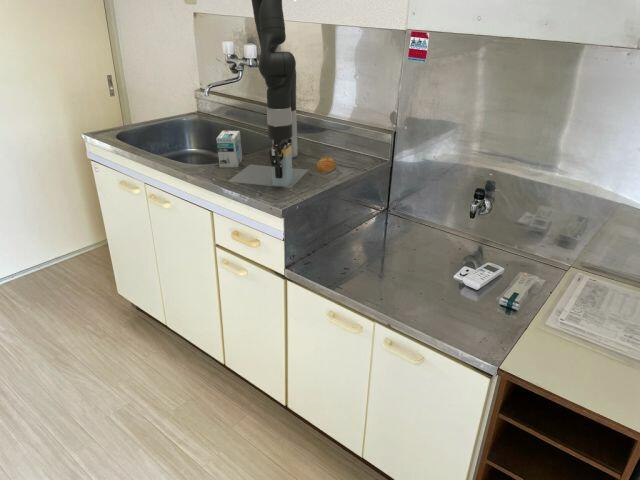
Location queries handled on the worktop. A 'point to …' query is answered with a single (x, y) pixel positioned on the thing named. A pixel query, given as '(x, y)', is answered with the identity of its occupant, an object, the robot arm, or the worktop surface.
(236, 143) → the light bulb box
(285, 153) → the block
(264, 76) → the robot arm
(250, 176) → the mat
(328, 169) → the pastry
